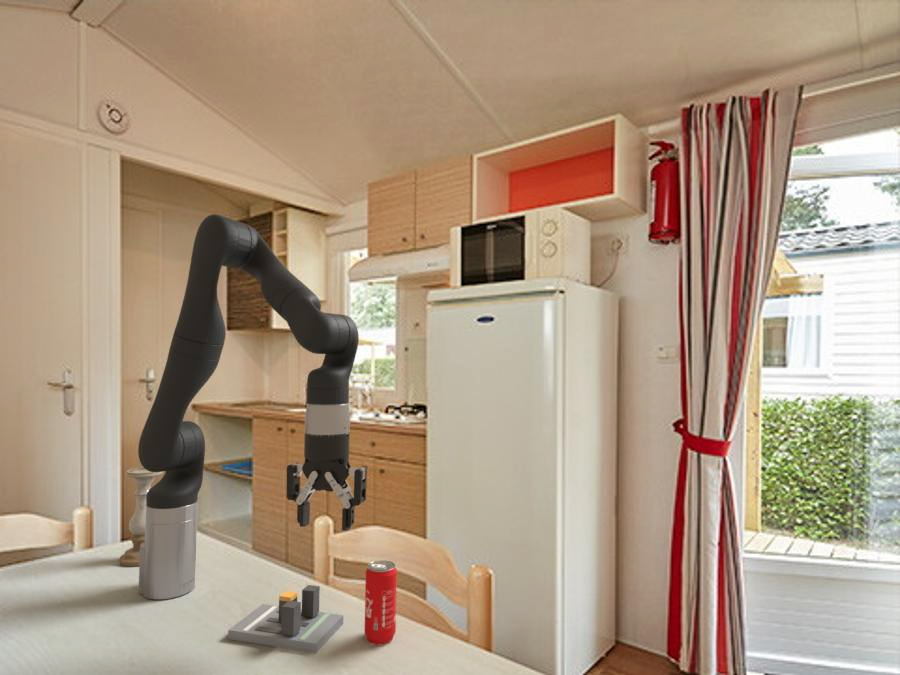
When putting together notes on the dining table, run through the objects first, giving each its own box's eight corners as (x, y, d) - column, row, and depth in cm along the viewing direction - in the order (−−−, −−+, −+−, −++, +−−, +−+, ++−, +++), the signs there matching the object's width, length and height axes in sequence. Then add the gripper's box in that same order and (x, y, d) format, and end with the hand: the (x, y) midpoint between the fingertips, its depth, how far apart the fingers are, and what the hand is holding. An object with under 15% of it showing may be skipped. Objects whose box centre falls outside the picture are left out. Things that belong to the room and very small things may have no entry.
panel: (228, 639, 91) (228, 629, 91) (262, 612, 101) (262, 603, 101) (316, 653, 87) (316, 642, 87) (343, 623, 97) (343, 614, 97)
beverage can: (390, 647, 89) (391, 572, 90) (359, 644, 90) (361, 569, 91) (399, 632, 94) (400, 561, 95) (370, 628, 95) (372, 558, 96)
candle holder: (171, 555, 128) (174, 467, 129) (140, 569, 120) (143, 475, 121) (142, 550, 131) (145, 465, 132) (109, 563, 123) (112, 472, 123)
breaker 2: (281, 634, 89) (281, 606, 90) (288, 628, 91) (288, 600, 92) (293, 636, 89) (294, 608, 89) (300, 629, 91) (300, 602, 91)
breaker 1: (278, 622, 93) (279, 596, 93) (285, 617, 95) (286, 590, 95) (290, 624, 93) (290, 597, 93) (296, 618, 95) (297, 592, 95)
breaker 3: (301, 616, 96) (302, 589, 96) (307, 610, 98) (308, 584, 98) (313, 617, 95) (313, 591, 95) (319, 612, 97) (319, 586, 98)
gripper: (277, 431, 92) (275, 530, 91) (357, 434, 88) (355, 538, 88) (300, 425, 99) (298, 518, 98) (374, 429, 96) (373, 524, 95)
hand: (325, 527), depth 93 cm, fingers open, 7 cm apart
